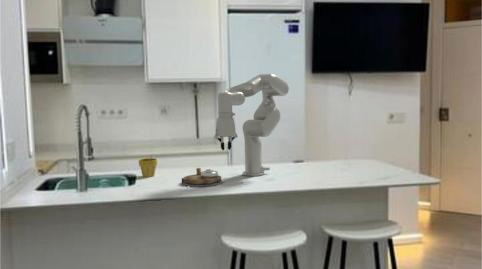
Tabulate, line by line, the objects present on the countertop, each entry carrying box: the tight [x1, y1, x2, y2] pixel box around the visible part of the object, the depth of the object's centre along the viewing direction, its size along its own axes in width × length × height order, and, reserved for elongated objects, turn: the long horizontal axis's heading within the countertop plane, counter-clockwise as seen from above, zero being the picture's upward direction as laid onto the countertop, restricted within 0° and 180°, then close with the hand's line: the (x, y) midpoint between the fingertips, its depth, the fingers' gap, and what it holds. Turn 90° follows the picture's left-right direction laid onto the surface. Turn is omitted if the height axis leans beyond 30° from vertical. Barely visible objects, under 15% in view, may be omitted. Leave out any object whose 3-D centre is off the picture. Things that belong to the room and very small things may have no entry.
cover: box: [201, 168, 219, 179], centre depth 262 cm, size 9×9×4 cm
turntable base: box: [181, 177, 224, 188], centre depth 261 cm, size 22×22×3 cm
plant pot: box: [138, 157, 158, 178], centre depth 283 cm, size 10×10×10 cm
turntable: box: [182, 167, 222, 185], centre depth 261 cm, size 20×20×5 cm
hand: (226, 149), depth 263 cm, fingers open, 2 cm apart
